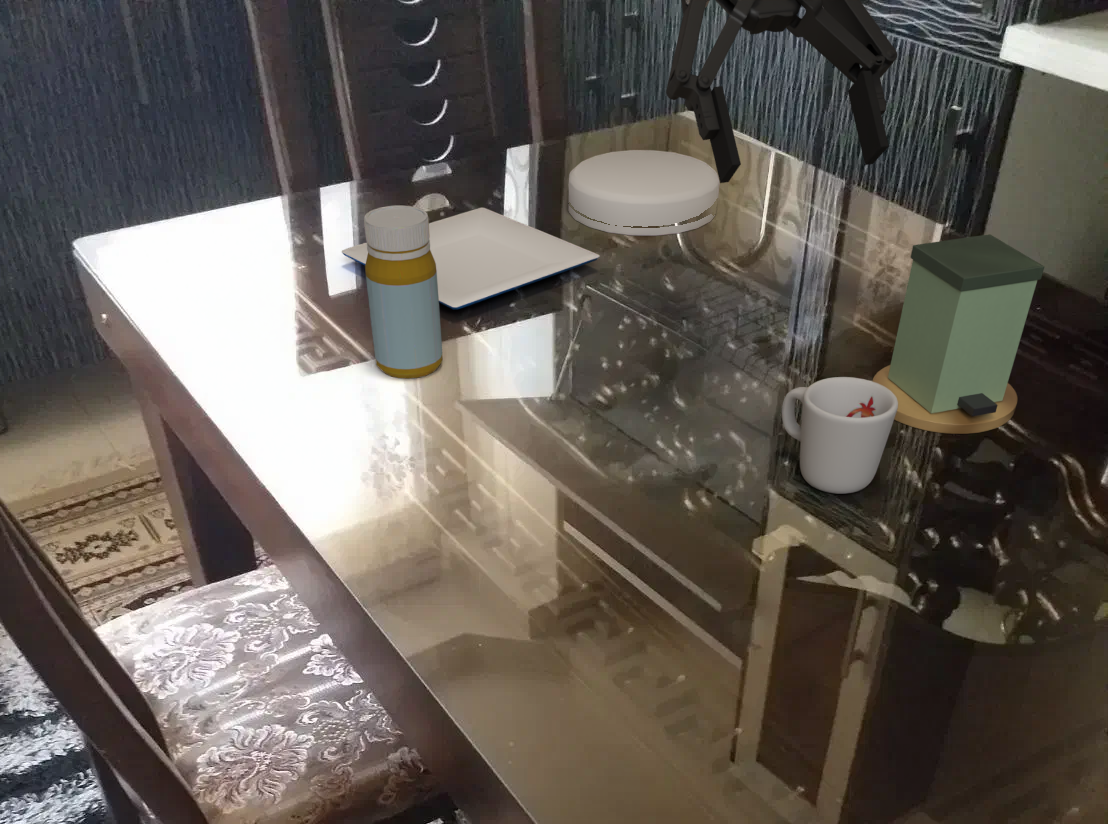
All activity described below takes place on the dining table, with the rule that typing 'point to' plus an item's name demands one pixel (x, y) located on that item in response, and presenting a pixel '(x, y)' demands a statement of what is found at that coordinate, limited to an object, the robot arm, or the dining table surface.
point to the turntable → (947, 412)
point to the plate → (490, 256)
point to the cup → (840, 431)
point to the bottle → (402, 292)
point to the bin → (962, 323)
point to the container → (642, 192)
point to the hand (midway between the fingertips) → (805, 165)
